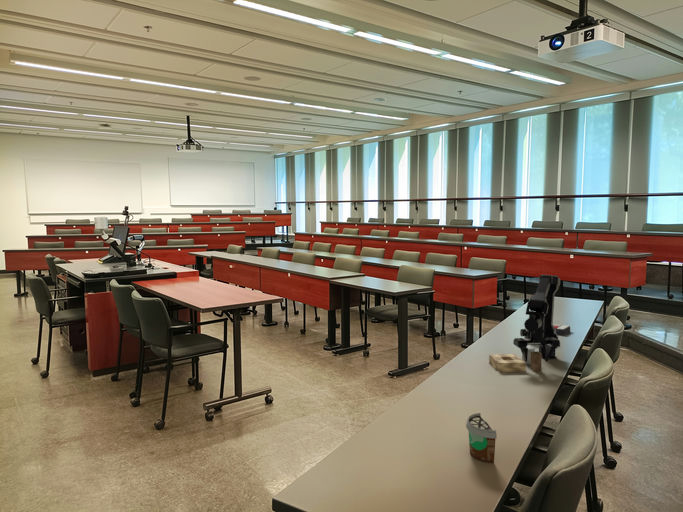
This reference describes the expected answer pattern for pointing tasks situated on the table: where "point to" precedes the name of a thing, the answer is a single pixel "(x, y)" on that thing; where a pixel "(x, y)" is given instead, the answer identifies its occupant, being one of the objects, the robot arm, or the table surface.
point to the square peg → (536, 361)
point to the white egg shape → (529, 355)
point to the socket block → (507, 363)
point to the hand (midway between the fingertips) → (536, 361)
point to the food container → (481, 439)
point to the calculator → (562, 329)
